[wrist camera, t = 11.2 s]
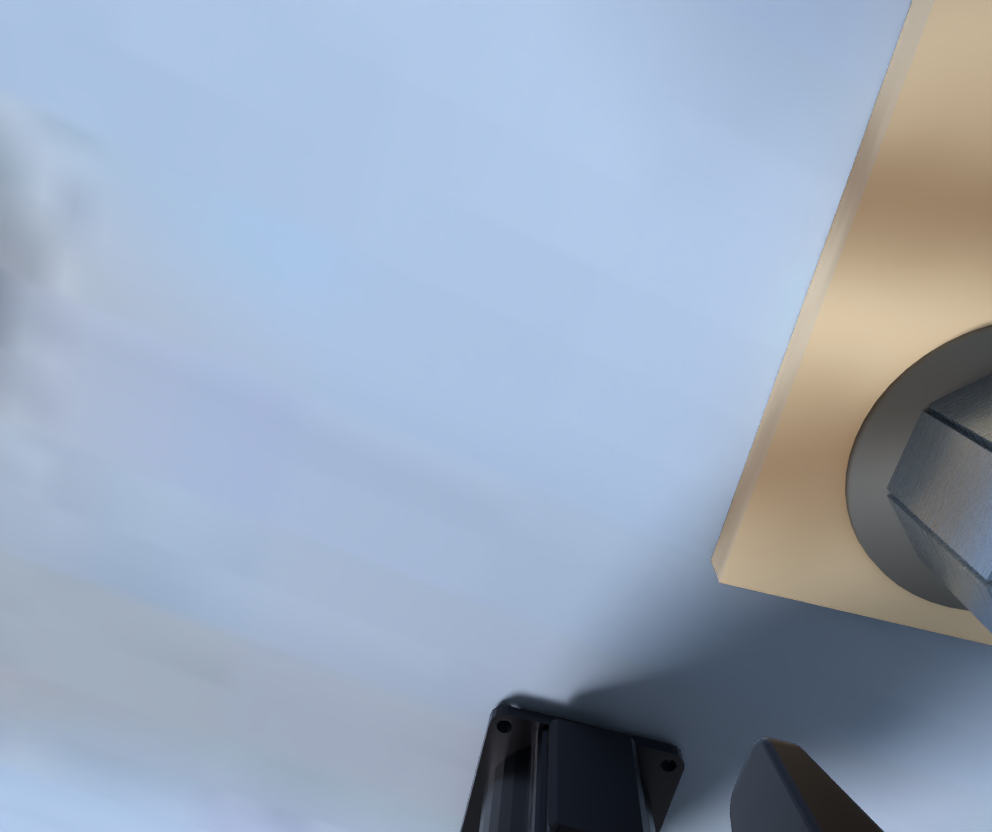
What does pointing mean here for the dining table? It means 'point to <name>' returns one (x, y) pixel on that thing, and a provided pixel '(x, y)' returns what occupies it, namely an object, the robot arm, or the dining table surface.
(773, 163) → the dining table surface
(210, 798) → the dining table surface
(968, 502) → the cap
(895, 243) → the board
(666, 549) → the dining table surface
